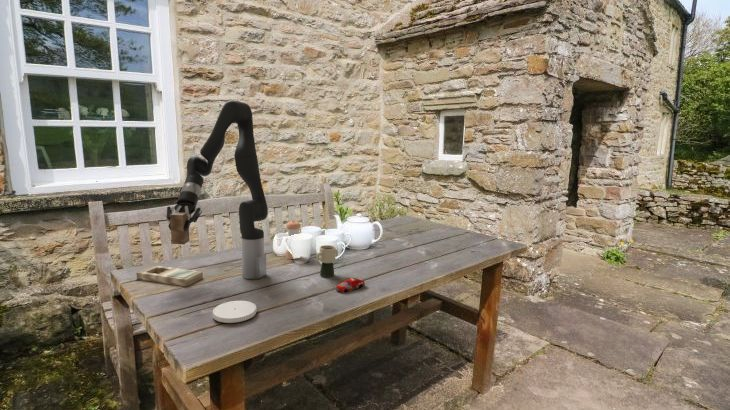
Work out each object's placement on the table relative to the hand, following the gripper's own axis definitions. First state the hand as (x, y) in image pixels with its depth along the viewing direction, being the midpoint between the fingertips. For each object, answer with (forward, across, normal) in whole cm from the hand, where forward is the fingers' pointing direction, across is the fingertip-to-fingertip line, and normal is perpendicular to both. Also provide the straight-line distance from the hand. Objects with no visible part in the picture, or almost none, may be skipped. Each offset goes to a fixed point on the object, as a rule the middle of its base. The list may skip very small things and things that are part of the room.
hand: (177, 229), depth 157 cm
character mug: (+7, +59, +25) cm, 64 cm away
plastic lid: (+36, +31, -4) cm, 48 cm away
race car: (+17, +70, +15) cm, 73 cm away
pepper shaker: (-11, +40, +42) cm, 59 cm away
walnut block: (+3, 0, +5) cm, 6 cm away
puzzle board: (+13, -6, +18) cm, 23 cm away
